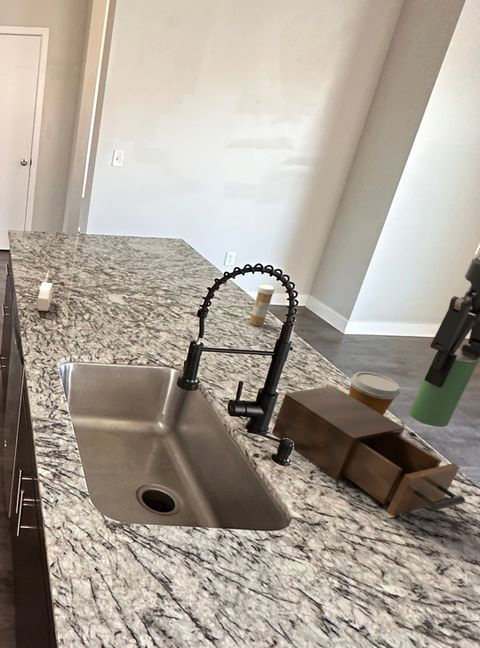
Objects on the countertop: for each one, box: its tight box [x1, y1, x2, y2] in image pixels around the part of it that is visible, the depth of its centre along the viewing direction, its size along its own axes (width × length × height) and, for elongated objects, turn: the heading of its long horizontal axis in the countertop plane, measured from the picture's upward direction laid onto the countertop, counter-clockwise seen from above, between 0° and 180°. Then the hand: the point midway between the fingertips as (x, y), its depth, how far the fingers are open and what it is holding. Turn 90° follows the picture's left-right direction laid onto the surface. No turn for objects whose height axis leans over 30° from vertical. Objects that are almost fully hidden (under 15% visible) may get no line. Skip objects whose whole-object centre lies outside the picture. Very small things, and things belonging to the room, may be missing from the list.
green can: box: [408, 348, 480, 428], centre depth 100 cm, size 6×6×14 cm
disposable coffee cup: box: [348, 371, 401, 416], centre depth 127 cm, size 10×10×12 cm
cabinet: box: [271, 385, 405, 482], centre depth 117 cm, size 17×14×11 cm
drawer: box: [342, 433, 466, 517], centre depth 105 cm, size 20×13×9 cm, turn 17°
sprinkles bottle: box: [248, 284, 275, 327], centre depth 178 cm, size 5×5×13 cm
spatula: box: [36, 270, 53, 312], centre depth 195 cm, size 38×8×4 cm
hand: (445, 380), depth 100 cm, fingers closed on green can, 6 cm apart
